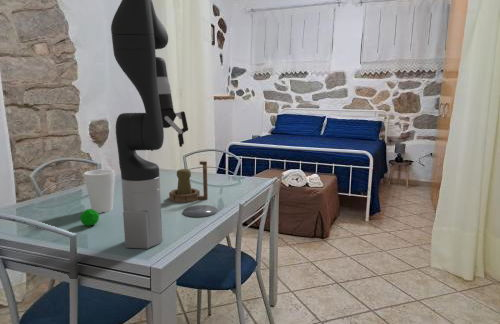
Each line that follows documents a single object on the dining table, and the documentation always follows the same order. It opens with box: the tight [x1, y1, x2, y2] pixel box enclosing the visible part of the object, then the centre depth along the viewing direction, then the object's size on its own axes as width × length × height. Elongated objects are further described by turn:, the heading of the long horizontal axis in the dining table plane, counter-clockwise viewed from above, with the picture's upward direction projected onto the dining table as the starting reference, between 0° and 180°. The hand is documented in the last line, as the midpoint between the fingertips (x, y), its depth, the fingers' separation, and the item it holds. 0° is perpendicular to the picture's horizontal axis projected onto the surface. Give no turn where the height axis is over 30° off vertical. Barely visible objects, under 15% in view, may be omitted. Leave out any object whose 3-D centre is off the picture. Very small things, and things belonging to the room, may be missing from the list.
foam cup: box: [83, 168, 116, 214], centre depth 120 cm, size 10×9×13 cm
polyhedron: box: [79, 208, 100, 227], centre depth 106 cm, size 5×5×5 cm
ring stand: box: [168, 160, 209, 203], centre depth 133 cm, size 10×14×14 cm
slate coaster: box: [183, 204, 218, 218], centre depth 118 cm, size 11×11×1 cm
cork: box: [176, 168, 192, 195], centre depth 133 cm, size 6×6×11 cm
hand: (166, 148), depth 109 cm, fingers open, 8 cm apart
